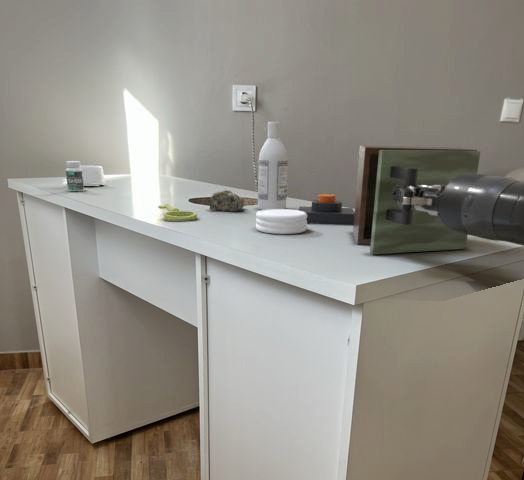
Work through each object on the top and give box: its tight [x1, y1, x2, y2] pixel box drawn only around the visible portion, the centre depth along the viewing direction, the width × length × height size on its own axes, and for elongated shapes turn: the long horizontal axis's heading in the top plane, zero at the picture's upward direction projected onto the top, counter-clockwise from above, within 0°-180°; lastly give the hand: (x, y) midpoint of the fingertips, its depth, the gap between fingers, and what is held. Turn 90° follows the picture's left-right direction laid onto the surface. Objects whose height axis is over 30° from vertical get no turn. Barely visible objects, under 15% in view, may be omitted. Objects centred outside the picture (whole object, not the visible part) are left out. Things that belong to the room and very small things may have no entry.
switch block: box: [298, 199, 355, 226], centre depth 122 cm, size 12×10×4 cm
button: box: [318, 193, 336, 203], centre depth 121 cm, size 4×4×2 cm
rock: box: [208, 189, 245, 212], centre depth 134 cm, size 7×8×4 cm
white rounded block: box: [80, 165, 106, 186], centre depth 182 cm, size 12×10×6 cm
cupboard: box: [352, 144, 478, 246], centre depth 99 cm, size 12×18×16 cm, turn 85°
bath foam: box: [257, 121, 289, 211], centre depth 134 cm, size 7×7×20 cm
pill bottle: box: [65, 160, 85, 192], centre depth 165 cm, size 5×5×8 cm
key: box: [157, 203, 198, 222], centre depth 121 cm, size 7×12×2 cm, turn 45°
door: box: [369, 150, 481, 255], centre depth 87 cm, size 6×18×16 cm, turn 110°
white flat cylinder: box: [255, 208, 308, 235], centre depth 109 cm, size 10×10×4 cm
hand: (401, 192), depth 84 cm, fingers closed on door
